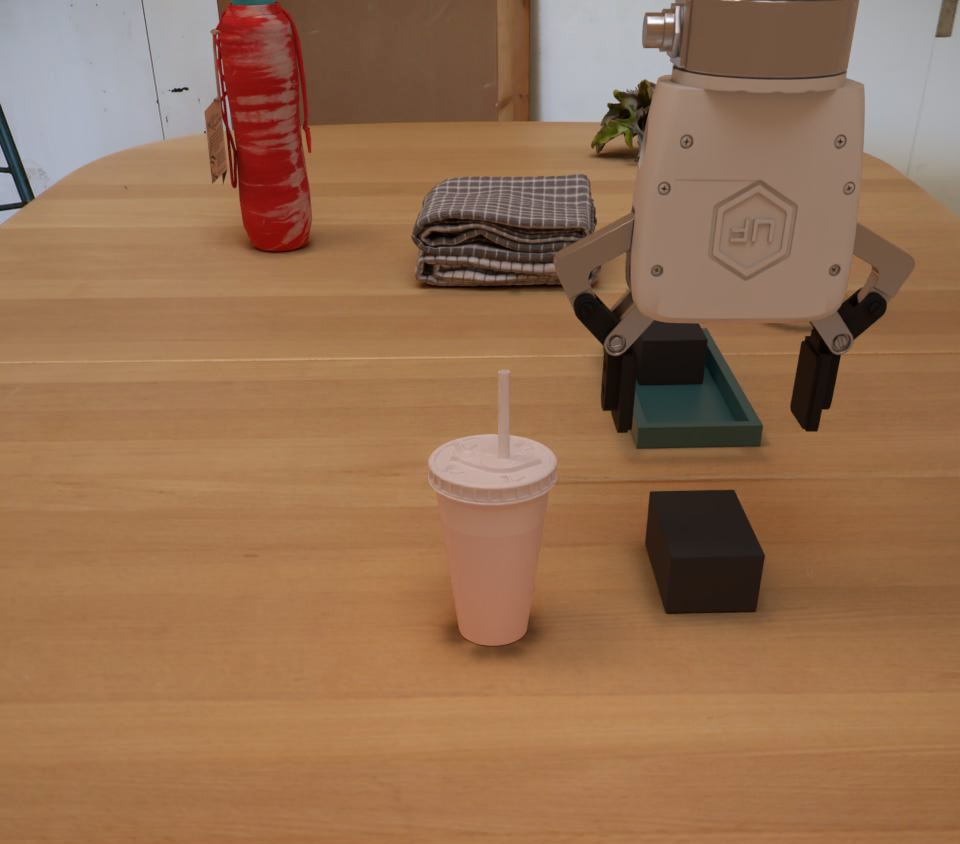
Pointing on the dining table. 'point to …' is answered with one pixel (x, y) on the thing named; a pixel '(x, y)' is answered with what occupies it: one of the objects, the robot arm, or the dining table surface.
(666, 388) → the tray
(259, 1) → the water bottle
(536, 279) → the towel
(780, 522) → the dining table surface
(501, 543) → the smoothie
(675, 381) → the dark brown rectangular block
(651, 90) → the green leafy plant
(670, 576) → the black rectangular block
